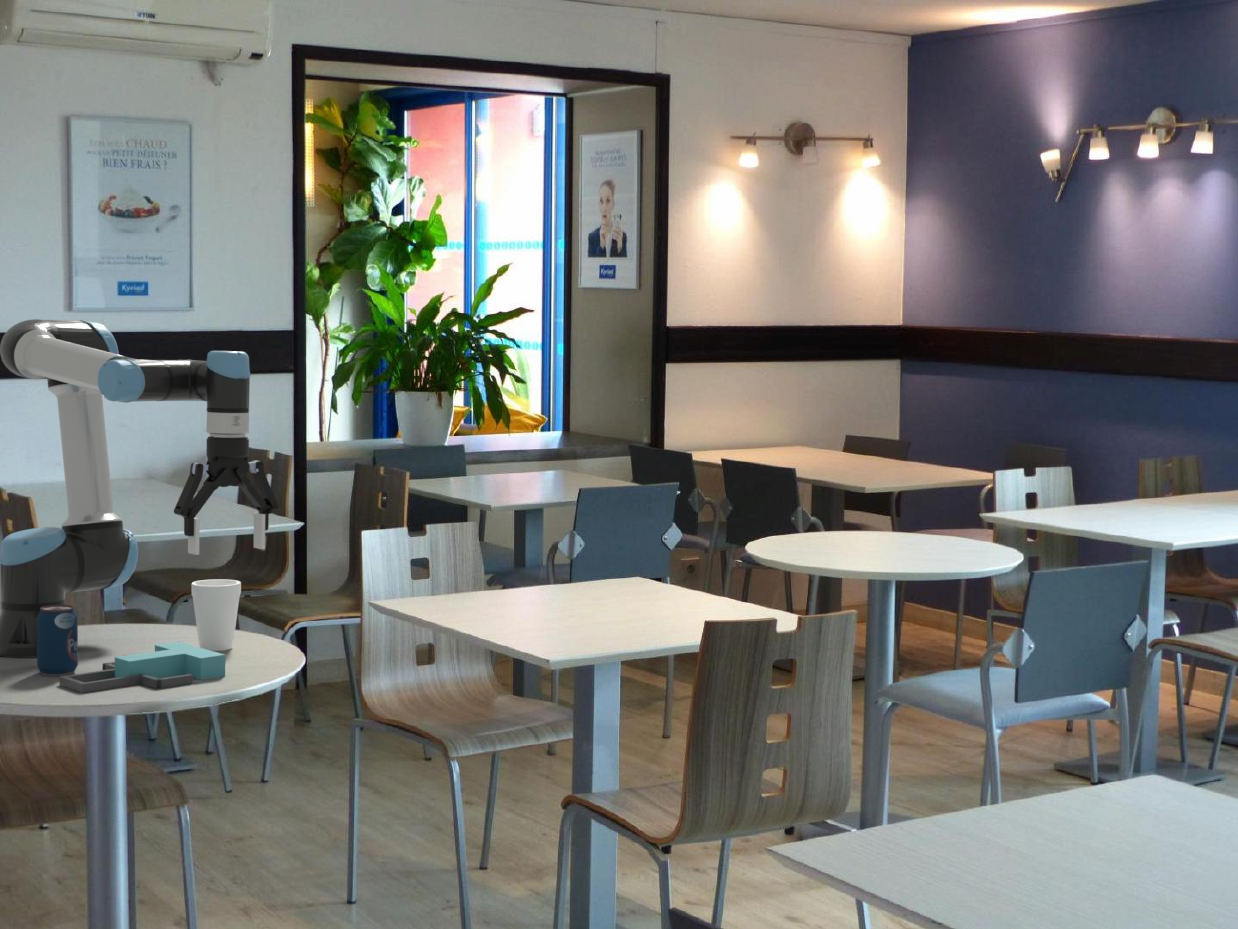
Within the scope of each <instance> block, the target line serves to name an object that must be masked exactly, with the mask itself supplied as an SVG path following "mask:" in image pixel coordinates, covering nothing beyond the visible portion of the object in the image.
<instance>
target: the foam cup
mask: <svg viewBox="0 0 1238 929" xmlns="http://www.w3.org/2000/svg"><path fill="white" fill-rule="evenodd" d="M241 593H242V582H241V581H240V580H235V579H218V578H217V579H215V578H214V579H203V580H195V581H193V582H192V583H191V596H192V600H193V601H192V602H193V608H194V610H193V611H194V616H195V623H196V631H197V632H196V633H197V639H198V645H199V648H203V649H206V650H210V651H214V652H218V651H220V652H221V651H226V650H231V649H233V646H234V640H235V632H236V625H237V619H238V617H237V616H238V609H239V603H240V596H241Z"/></svg>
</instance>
